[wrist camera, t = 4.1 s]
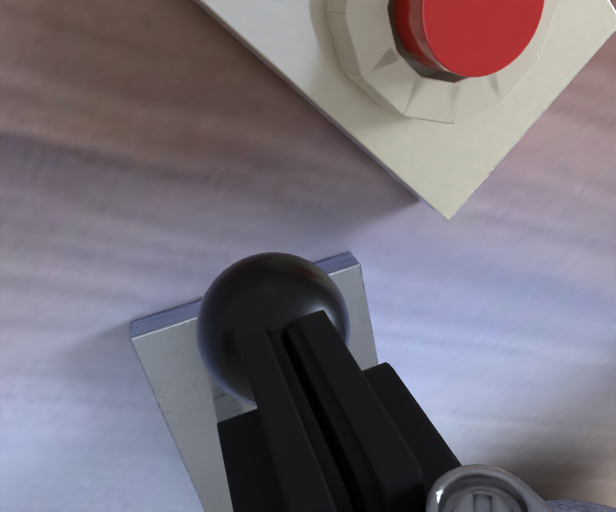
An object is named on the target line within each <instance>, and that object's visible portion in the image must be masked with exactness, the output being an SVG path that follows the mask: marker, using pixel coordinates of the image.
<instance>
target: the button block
mask: <svg viewBox="0 0 616 512" xmlns="http://www.w3.org/2000/svg"><path fill="white" fill-rule="evenodd" d="M193 1H194V2H195V3H197V4H198V5H199V6H200V7H201V8H202V9H203V10H204V11H206V12H207V13H208V14H209V15H210V16H211V17H212V18H214V19H215V20H216V21H217V22H218V23H219V24H220V25H221V26H223V27H224V28H225V29H226V30H227V31H228V32H229V33H230V34H232V35H233V36H234V37H235V38H236V39H237V40H238V41H240V42H241V43H242V44H243V45H244V46H245V47H246V48H247V49H249V50H250V51H251V52H252V53H253V54H254V55H255V56H256V57H258V58H259V59H260V60H261V61H262V62H263V63H264V64H266V65H267V66H268V67H269V68H270V69H271V70H272V71H273V72H275V73H276V74H277V75H278V76H279V77H280V78H281V79H282V80H284V81H285V82H286V83H287V84H288V85H289V86H290V87H292V88H293V89H294V90H295V91H296V92H297V93H298V94H299V95H301V96H302V97H303V98H304V99H305V100H306V101H307V102H308V103H310V104H311V105H312V106H313V107H314V108H315V109H316V110H318V111H319V112H320V113H321V114H322V115H323V116H324V117H325V118H327V119H328V120H329V121H330V122H331V123H332V124H333V125H335V126H336V127H337V128H338V129H339V130H340V131H341V132H342V133H344V134H345V135H346V136H347V137H348V138H349V139H350V140H351V141H353V142H354V143H355V144H356V145H357V146H358V147H359V148H361V149H362V150H363V151H364V152H365V153H366V154H367V155H368V156H370V157H371V158H372V159H373V160H374V161H375V162H376V163H377V164H379V165H380V166H381V167H382V168H383V169H384V170H385V171H387V172H388V173H389V174H390V175H391V176H392V177H393V178H394V179H396V180H397V181H398V182H399V183H400V184H401V185H402V186H403V187H405V188H406V189H407V190H408V191H409V192H410V193H411V194H413V195H414V196H415V197H416V198H417V199H418V200H419V201H420V202H422V203H423V204H424V205H426V206H427V207H429V208H430V209H432V210H433V211H434V212H436V213H437V214H439V215H440V216H441V217H443V218H444V219H446V220H450V219H451V217H452V216H453V215H454V214H455V213H456V212H457V211H458V209H459V208H460V207H461V206H462V205H463V204H464V203H465V201H466V200H467V199H468V198H469V197H470V196H471V195H472V193H473V192H474V191H475V190H476V189H477V188H478V187H479V185H480V184H481V183H482V182H483V181H484V180H485V179H486V177H487V176H488V175H489V174H490V173H491V172H492V171H493V169H494V168H495V167H496V166H497V165H498V164H499V163H500V161H501V160H502V159H503V158H504V157H505V156H506V155H507V153H508V152H509V151H510V150H511V149H512V148H513V147H514V145H515V144H516V143H517V142H518V141H519V140H520V139H521V137H522V136H523V135H524V134H525V133H526V132H527V131H528V129H529V128H530V127H531V126H532V125H533V124H534V123H535V121H536V120H537V119H538V118H539V117H540V116H541V115H542V113H543V112H544V111H545V110H546V109H547V108H548V107H549V105H550V104H551V103H552V102H553V101H554V100H555V99H556V97H557V96H558V95H559V94H560V93H561V92H562V91H563V89H564V88H565V87H566V86H567V85H568V84H569V83H570V81H571V80H572V79H573V78H574V77H575V76H576V75H577V73H578V72H579V71H580V70H581V69H582V68H583V67H584V65H585V64H586V63H587V62H588V61H589V60H590V59H591V57H592V56H593V55H594V54H595V53H596V52H597V51H598V49H599V48H600V47H601V46H602V45H603V44H604V42H605V41H606V40H607V39H608V38H609V37H610V36H611V34H612V33H613V32H614V31H615V30H616V10H615V9H614V7H613V6H612V4H611V2H610V1H609V0H545V1H544V7H543V12H542V15H541V19H540V22H539V25H538V27H537V29H536V32H535V34H534V36H533V37H532V39H531V41H530V42H529V44H528V45H527V47H526V48H525V49H524V51H523V52H522V53H521V54H520V55H519V56H518V57H517V58H516V59H515V60H514V61H513V62H512V63H510V64H509V65H508V66H506V67H505V68H503V69H502V70H500V71H498V72H496V73H493V74H490V75H487V76H482V77H464V76H459V75H455V74H451V73H447V72H442V71H438V70H434V69H431V68H428V67H426V66H423V65H421V64H420V63H418V62H417V61H416V60H415V59H413V58H412V57H411V56H410V55H409V53H408V52H407V51H406V50H405V48H404V46H403V45H402V43H401V41H400V38H399V36H398V33H397V30H396V26H395V20H394V0H193Z"/></svg>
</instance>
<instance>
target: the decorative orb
mask: <svg viewBox="0 0 616 512" xmlns="http://www.w3.org/2000/svg"><path fill="white" fill-rule="evenodd" d="M545 502H547V503H548V504H549V505H550V506H551V507H552V508H553V509H554V510H555V511H556V512H616V508H613V507H609V506H606V505H601V504H597V503H592V502H587V501H577V500H550V501H545Z"/></svg>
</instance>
